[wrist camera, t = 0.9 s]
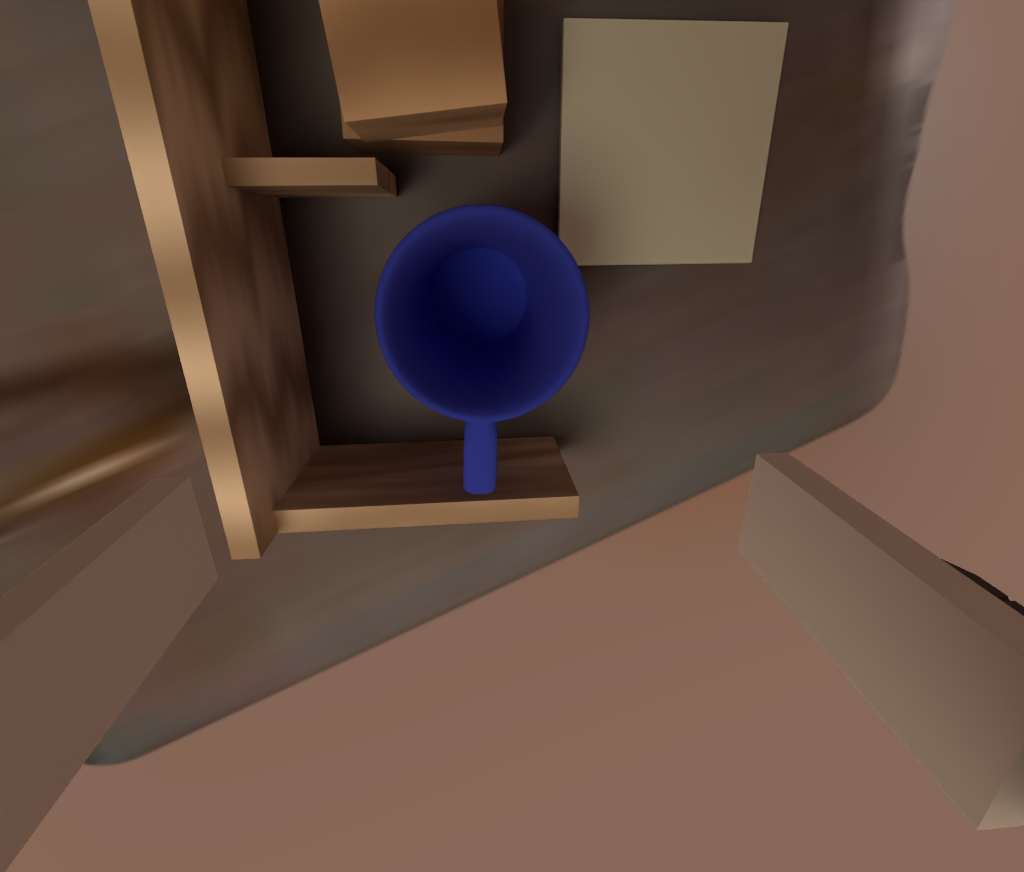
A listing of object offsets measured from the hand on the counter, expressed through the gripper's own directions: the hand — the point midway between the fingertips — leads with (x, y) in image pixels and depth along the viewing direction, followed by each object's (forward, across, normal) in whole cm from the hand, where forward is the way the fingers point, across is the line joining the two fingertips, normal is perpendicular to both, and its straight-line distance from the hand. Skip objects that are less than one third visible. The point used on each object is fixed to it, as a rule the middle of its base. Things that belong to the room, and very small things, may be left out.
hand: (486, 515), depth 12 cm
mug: (+19, 0, +1) cm, 19 cm away
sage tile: (+19, +10, +10) cm, 24 cm away
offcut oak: (+15, -2, +13) cm, 20 cm away
